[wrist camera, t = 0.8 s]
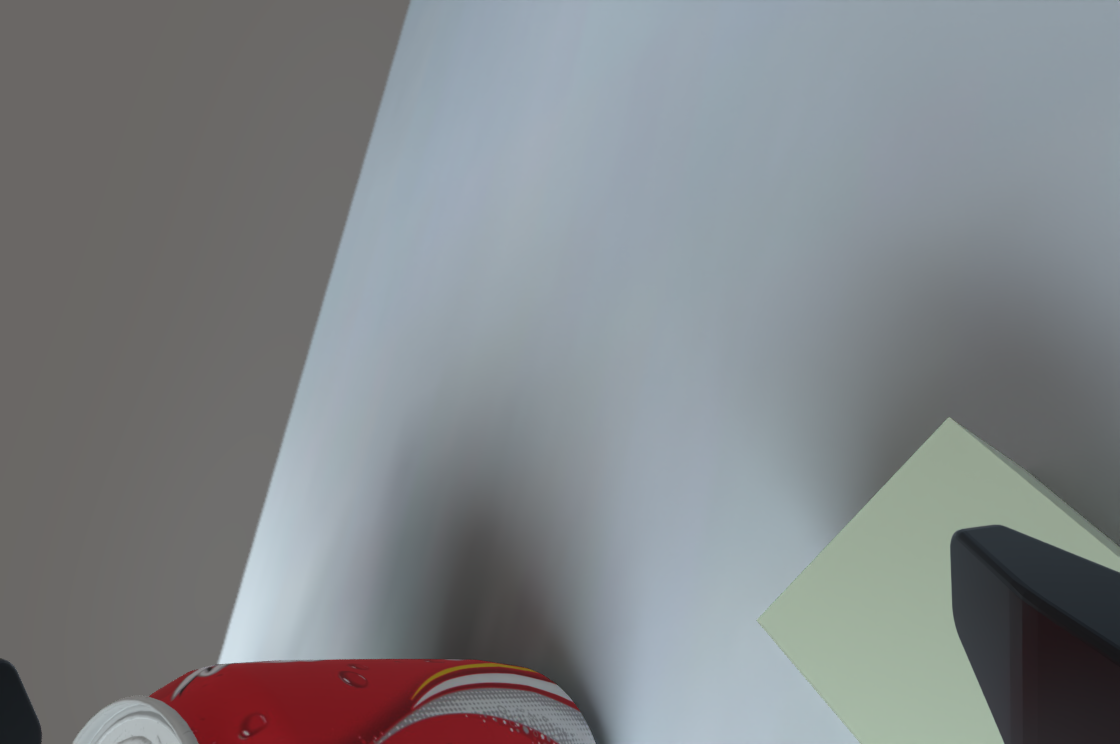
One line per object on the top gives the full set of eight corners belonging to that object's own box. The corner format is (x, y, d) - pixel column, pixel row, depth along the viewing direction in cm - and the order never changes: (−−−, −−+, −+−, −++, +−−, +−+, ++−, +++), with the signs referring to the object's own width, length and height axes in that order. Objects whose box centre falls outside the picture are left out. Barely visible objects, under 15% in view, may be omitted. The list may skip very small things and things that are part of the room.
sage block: (1244, 649, 18) (1227, 647, 13) (1049, 819, 19) (970, 873, 14) (1025, 470, 20) (948, 416, 16) (869, 627, 22) (756, 620, 17)
